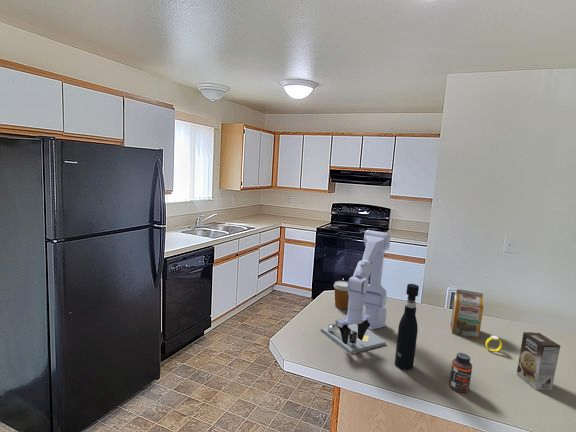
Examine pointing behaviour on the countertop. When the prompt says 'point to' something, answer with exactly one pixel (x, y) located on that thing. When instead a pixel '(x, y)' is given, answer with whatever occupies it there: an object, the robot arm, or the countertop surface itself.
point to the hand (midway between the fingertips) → (352, 341)
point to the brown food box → (538, 360)
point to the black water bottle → (407, 332)
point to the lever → (351, 338)
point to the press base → (367, 342)
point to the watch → (493, 339)
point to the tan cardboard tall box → (467, 313)
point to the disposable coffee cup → (341, 294)
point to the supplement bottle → (460, 373)
